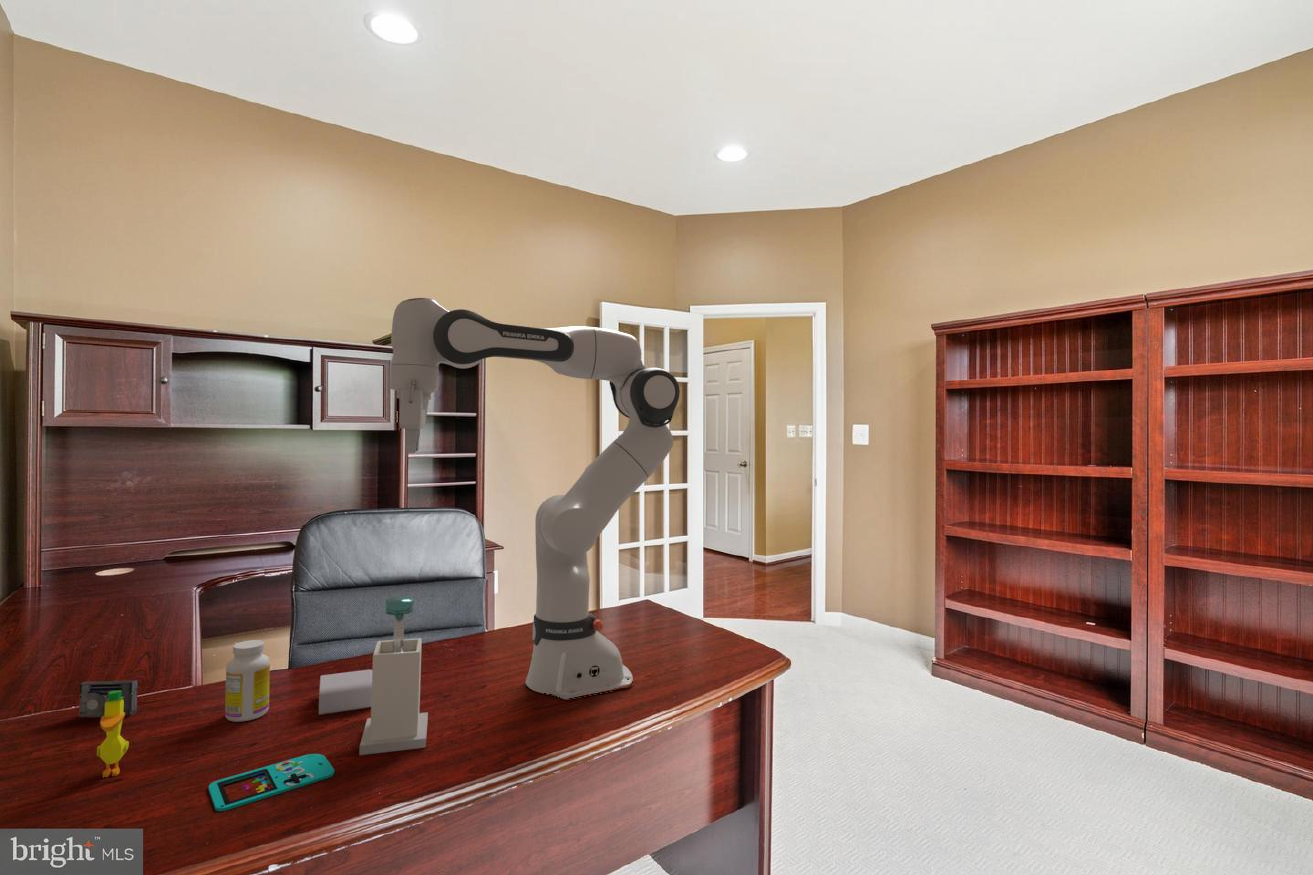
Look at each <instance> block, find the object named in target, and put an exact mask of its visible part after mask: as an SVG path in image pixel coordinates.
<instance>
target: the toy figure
mask: <svg viewBox="0 0 1313 875" xmlns="http://www.w3.org/2000/svg"><path fill="white" fill-rule="evenodd" d="M121 693H122V691H121V690H118V691H112V692H109V693H108V696H109V699H106V700H105V701H106V702H105V715H104V716H102V717H100V721H99V723H100V725H99V726H100V728H101V729H102V730H103V731H104V732H105V734H106V738H105V739H104V740H103V741H102V742H101V744H100V745H99V746H97V747H96V757H99V758H100V759H101V760H102V761H103V762H104V763H105V764H106V765H105V766H106V767H105V768H106V769H104V770H103V771H102V778H103V779H104V777H106V778H109V777H110V776H112V777H116V776H118V775H119V774H120V773H121V772H120V771H121V770H120V767H119V761H121V759H122V758H123V756H124V755H125V753H126V752H127V751H128V749H129V746H130V741H128V740H126V739H125V738H123V737H122V736H121V730H122V725H123V720H124V718H125V717H126V716H125V713H124V712H123V710H124V700H123V698H124V697H122V696H121ZM113 764H114V768H112V769H111V767H110V766H111V765H113Z"/></svg>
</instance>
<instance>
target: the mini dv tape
mask: <svg viewBox="0 0 1313 875" xmlns="http://www.w3.org/2000/svg"><path fill="white" fill-rule="evenodd" d="M118 690H121V691H122V693H121V696H122V697H124V698H123V700H124V710H123V712H124V713H125V716H124V717H132V716H133V715H135V714H136V713H137V712H138V680H134V679H133V680H107V681H105V680H103V681H102V680H101V681H99V680H97V681H84V682H82V683H80V684H79V698H78V699H79V701H78V702H79V704H78V709H79V710H78V718H79V717H87V718H95V717H94V716H98V717H97V718H102V716H104V715H105V702H106V701H105V700H106V699H109V696H108V693H109V692H112V691H118ZM131 715H132V716H131Z"/></svg>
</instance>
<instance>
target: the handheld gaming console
mask: <svg viewBox="0 0 1313 875" xmlns="http://www.w3.org/2000/svg"><path fill="white" fill-rule="evenodd" d="M261 774H263V775H261ZM334 775H335V768H334V767H333V766H332V764H331V763H330V761H329V760H328V759H327V757H326V756H325V755H323V754H322V753H321V754H320V753H311V754H310V753H309V754H304V755H301V756H298V757H294V758H289V759H287V760H283V761H281V762H277V763H273V764H270V765H267V766H266V765H265V766H263V767H260V768H259V767H258V768H256V769H254V770H249V771H246V772H242V773H238V774H236V775H232V776H228V777H225V778H221V779H218V780H214V781H212V782H211V783H209V785H208V792H209V793H208V794H210V795H209V796H210V798H211V801H212V803H213V807H214V809H215V811H218V812H226V811H229V810H233V809H236V808H238V807H241V806H244V805H248V804H252V803H253V802H257V801H260V800H263V799H266V798H269V797H273V796H276V795H279V794H282V793H285V792H289V791H291V790H294V789H295V790H296V789H298V788H302V787H305V786H308V785H310V784H313V783H316V782H320V781H323V780H327V779H329V778H331V777H333V776H334ZM252 777H254V780H253V781H251V782H252V784H255V783H259V782H260V784H261V785H258V787H257V788H255V791H256V793H253V794H250V795H247V796H244V797H243V796H242V797H240V798H238V799H234V800H231V801H230V799H229V797H228V794H227V792H226V789H225V787H224V785H228V784H231V783H234V782H238V781H241V780H245V779H248V778H252ZM242 786H243V787H242V788H241V789H245V790H246V791H247V790H250V786H249V784H245V785H242ZM244 786H245V787H246V786H247V787H246V788H244Z"/></svg>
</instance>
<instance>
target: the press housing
mask: <svg viewBox="0 0 1313 875" xmlns="http://www.w3.org/2000/svg"><path fill="white" fill-rule="evenodd" d="M422 640H423V638H419V637H418V638H404V644H403V652H396V653H393V641H394V639H391V640H390V639H389V640H388V639H387V640H377V642H376V645H375V649H374V651H373V653H372V654H373V655H372V667H371V668H372V669H371V670H372V700H371V707H370V717H368V718H367V719H366V722H365V726H364V729H363V733H362V736H361V741H360V744H359V754H358V755H359V756H364V755H371V754H372V755H375V754H381V753H388V752H389V753H391V752H397V751H399V752H400V751H407V750H416V749H423V748H424V749H425V748H426V747H427V746H426V745H427V732H428V721H429V719H428V717H429V712H428V711H427V712H420V705H421V675H422V674H421V672H422V648H423V647H422V642H423V641H422Z"/></svg>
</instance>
